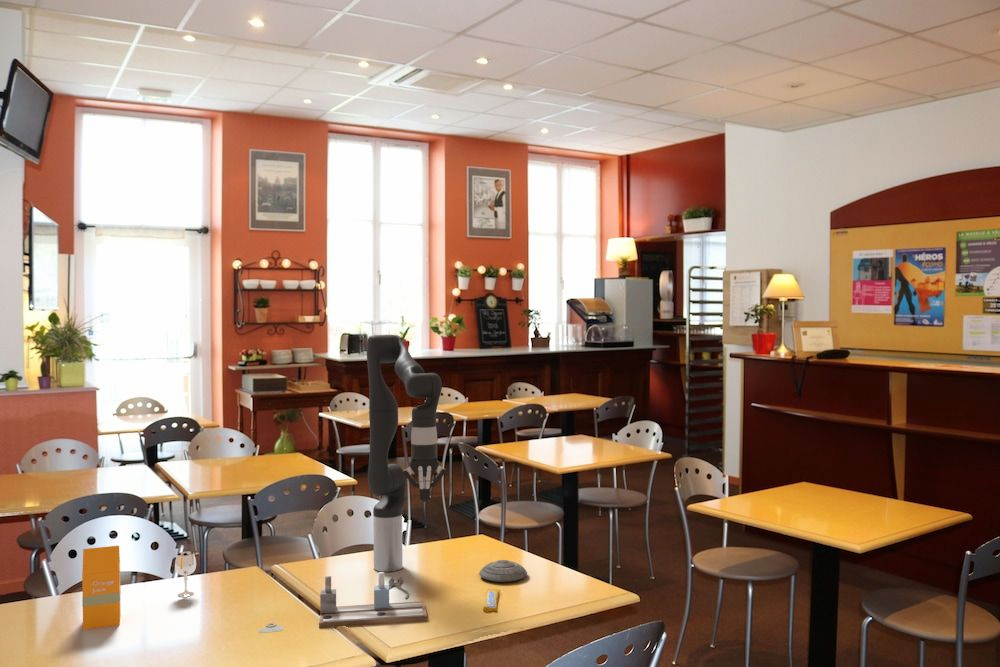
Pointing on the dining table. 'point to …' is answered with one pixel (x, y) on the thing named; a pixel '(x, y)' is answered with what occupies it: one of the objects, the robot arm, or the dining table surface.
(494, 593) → the candy bar
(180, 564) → the wineglass
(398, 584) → the pliers
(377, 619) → the board
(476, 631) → the dining table surface
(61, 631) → the dining table surface
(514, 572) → the flying saucer
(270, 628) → the mounting bracket
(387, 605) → the pointer block
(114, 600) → the orange juice
